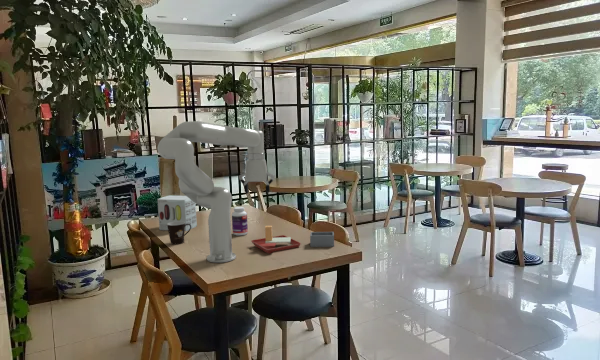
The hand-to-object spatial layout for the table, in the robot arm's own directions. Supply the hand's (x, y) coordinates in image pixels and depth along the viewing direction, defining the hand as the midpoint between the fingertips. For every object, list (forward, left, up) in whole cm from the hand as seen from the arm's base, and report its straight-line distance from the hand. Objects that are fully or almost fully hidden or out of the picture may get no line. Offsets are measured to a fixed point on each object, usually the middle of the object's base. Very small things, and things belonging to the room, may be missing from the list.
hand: (257, 193), depth 212 cm
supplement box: (+39, +53, -26) cm, 71 cm away
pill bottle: (+23, +14, -26) cm, 37 cm away
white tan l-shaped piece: (-3, -10, -22) cm, 25 cm away
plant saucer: (-3, -8, -26) cm, 28 cm away
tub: (-2, -30, -26) cm, 40 cm away
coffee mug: (+8, +41, -26) cm, 49 cm away
